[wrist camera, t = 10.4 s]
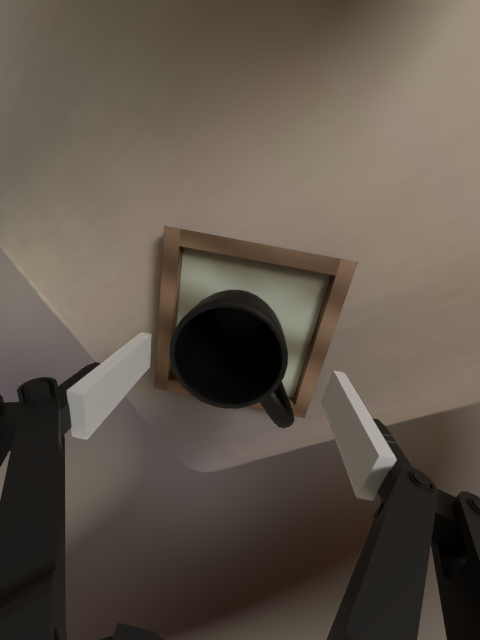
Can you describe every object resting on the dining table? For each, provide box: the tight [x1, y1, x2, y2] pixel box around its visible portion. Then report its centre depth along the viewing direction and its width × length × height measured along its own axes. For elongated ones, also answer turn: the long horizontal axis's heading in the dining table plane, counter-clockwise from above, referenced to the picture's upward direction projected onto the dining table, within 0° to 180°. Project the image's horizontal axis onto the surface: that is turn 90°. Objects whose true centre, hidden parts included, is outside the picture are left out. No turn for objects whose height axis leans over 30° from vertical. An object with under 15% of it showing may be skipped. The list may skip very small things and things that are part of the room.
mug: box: [169, 290, 294, 428], centre depth 20 cm, size 8×12×10 cm
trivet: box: [154, 226, 357, 418], centre depth 25 cm, size 18×18×2 cm
